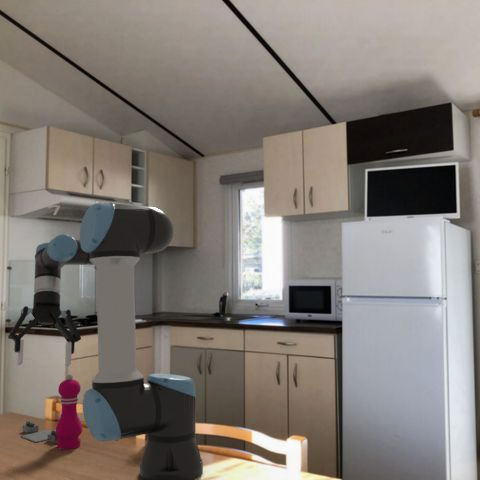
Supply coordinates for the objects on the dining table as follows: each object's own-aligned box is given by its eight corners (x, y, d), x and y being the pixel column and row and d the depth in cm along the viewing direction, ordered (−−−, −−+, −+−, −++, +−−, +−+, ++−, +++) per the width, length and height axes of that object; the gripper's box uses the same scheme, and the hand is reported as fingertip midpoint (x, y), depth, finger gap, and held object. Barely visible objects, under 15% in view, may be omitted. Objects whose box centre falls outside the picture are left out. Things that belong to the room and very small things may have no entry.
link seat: (64, 436, 165) (64, 434, 165) (36, 442, 159) (36, 441, 159) (49, 430, 171) (49, 429, 172) (21, 436, 165) (21, 435, 165)
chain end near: (64, 441, 160) (64, 431, 160) (54, 443, 158) (54, 433, 158) (57, 438, 163) (57, 429, 163) (47, 441, 160) (47, 431, 161)
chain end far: (38, 432, 170) (38, 422, 170) (29, 434, 168) (29, 424, 168) (32, 429, 173) (32, 420, 173) (22, 431, 170) (22, 422, 171)
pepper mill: (55, 443, 158) (56, 372, 159) (81, 441, 160) (82, 371, 161) (54, 451, 151) (56, 376, 152) (82, 448, 153) (83, 375, 154)
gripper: (83, 301, 176) (82, 368, 168) (-1, 293, 162) (-6, 366, 154) (91, 293, 171) (91, 362, 162) (6, 285, 157) (1, 360, 148)
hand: (44, 364), depth 158 cm, fingers open, 13 cm apart
